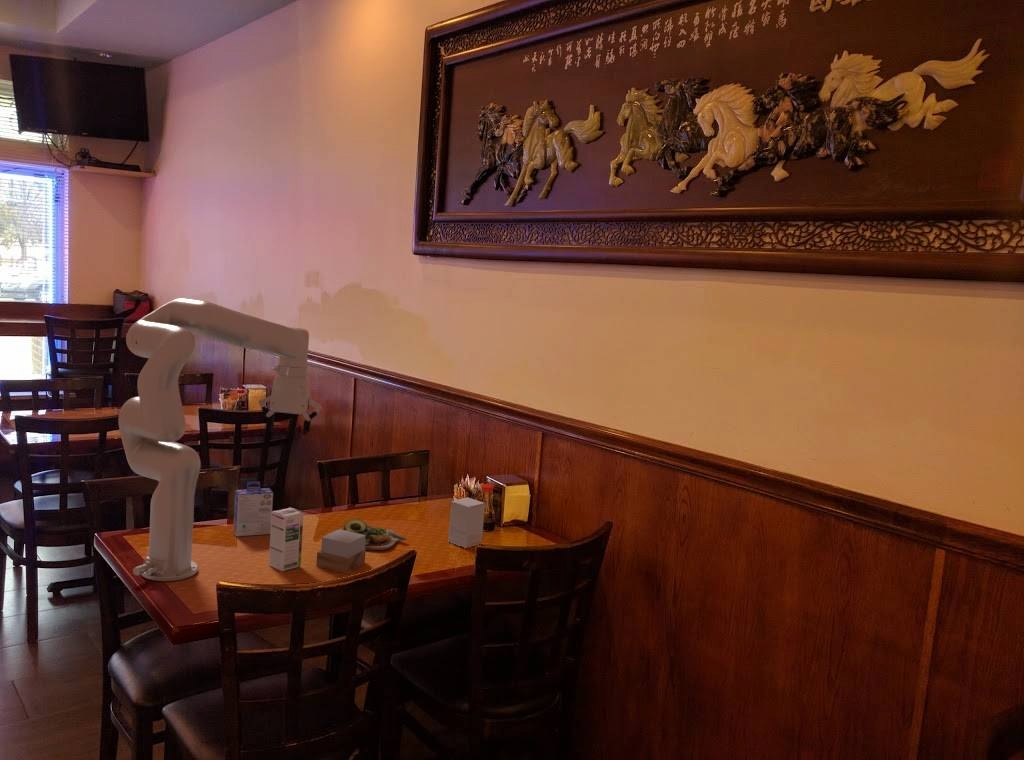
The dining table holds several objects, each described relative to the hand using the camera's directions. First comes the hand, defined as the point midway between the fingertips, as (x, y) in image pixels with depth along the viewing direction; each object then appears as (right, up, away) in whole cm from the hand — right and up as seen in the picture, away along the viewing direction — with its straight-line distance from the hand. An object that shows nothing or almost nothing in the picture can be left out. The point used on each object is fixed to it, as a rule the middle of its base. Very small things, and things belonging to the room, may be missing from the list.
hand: (288, 432), depth 222 cm
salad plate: (+21, -32, +4) cm, 38 cm away
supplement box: (+49, -33, +10) cm, 60 cm away
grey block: (+19, -30, -16) cm, 39 cm away
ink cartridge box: (-11, -29, +1) cm, 31 cm away
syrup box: (+5, -33, -21) cm, 39 cm away
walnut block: (+18, -34, -16) cm, 41 cm away
